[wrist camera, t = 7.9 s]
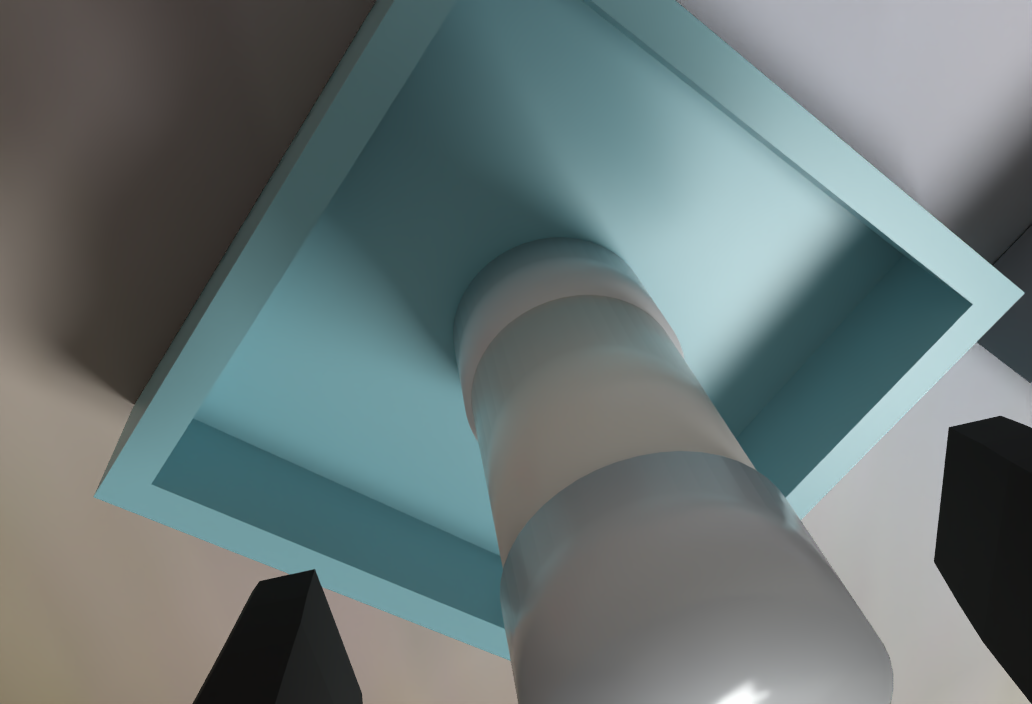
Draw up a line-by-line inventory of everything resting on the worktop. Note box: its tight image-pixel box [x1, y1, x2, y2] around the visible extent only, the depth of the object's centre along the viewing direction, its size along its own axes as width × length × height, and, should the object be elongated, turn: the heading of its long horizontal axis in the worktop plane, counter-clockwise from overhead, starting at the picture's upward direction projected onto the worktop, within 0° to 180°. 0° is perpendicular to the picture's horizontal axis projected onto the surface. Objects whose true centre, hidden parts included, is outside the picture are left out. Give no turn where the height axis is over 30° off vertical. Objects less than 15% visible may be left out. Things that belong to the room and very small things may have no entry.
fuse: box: [453, 237, 893, 704], centre depth 11 cm, size 3×3×8 cm
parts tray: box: [94, 0, 1024, 661], centre depth 14 cm, size 10×10×2 cm
